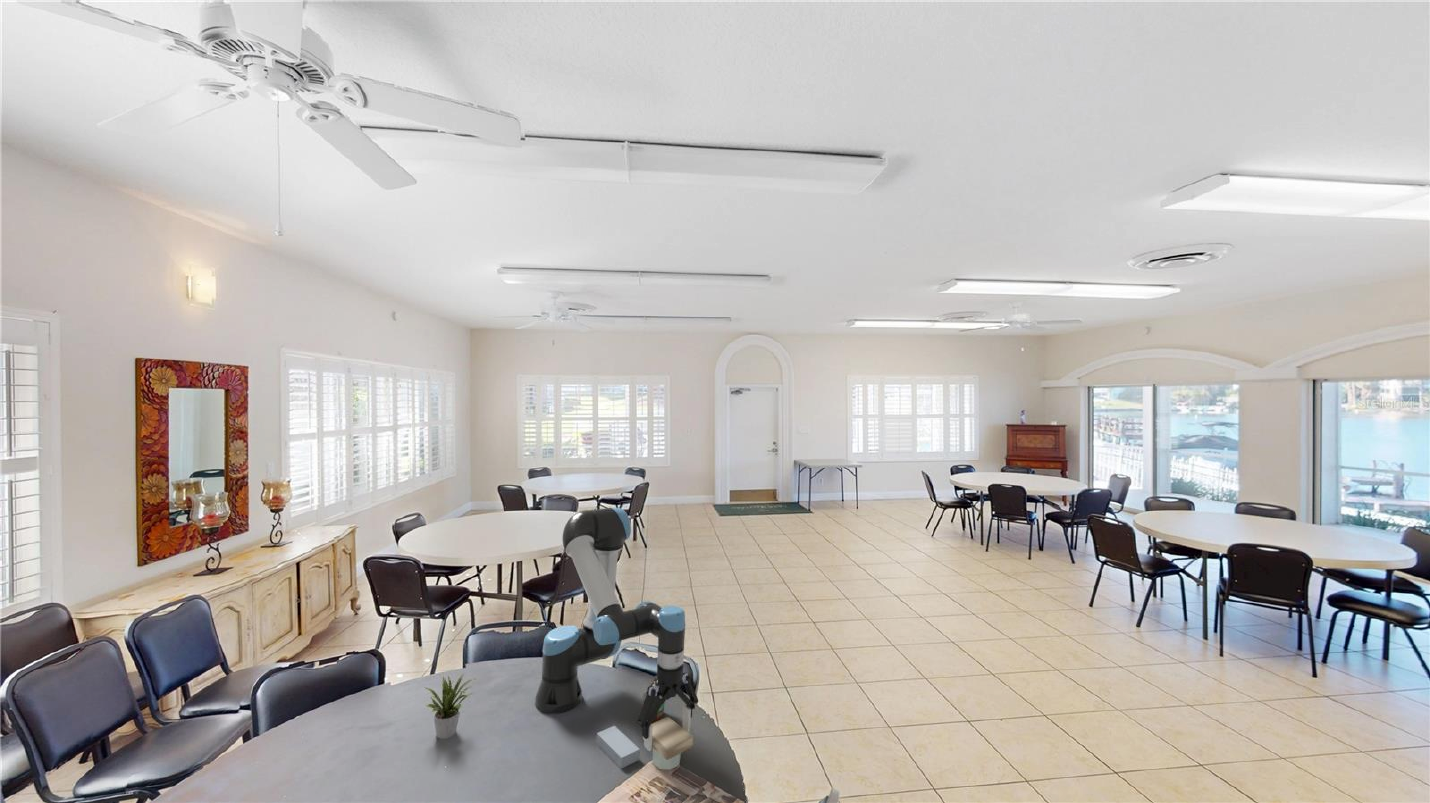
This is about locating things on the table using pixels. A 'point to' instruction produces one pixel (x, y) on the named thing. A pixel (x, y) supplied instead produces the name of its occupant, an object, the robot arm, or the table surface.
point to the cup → (665, 761)
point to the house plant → (447, 708)
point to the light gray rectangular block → (618, 747)
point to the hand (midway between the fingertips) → (667, 738)
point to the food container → (661, 710)
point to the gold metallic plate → (670, 738)
